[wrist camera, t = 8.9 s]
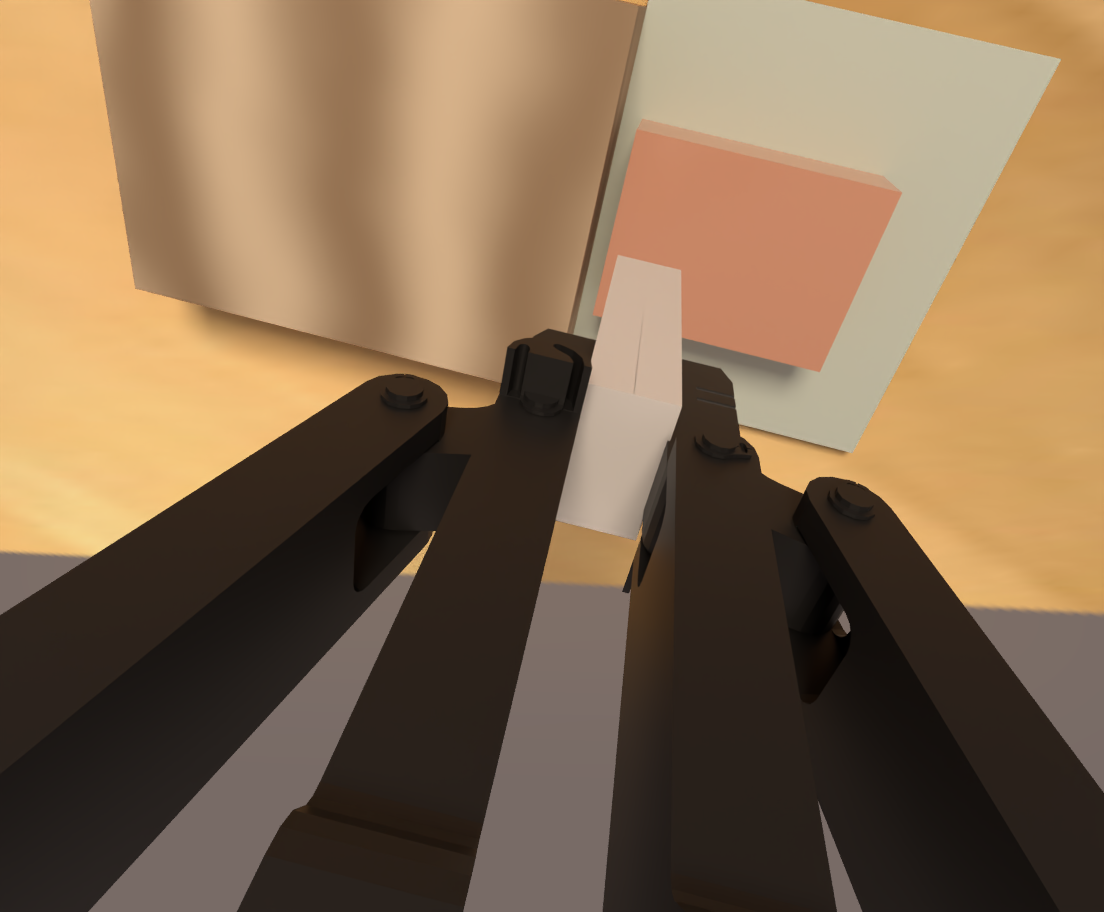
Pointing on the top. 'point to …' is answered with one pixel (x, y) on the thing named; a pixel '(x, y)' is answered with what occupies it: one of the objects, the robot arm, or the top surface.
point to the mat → (842, 139)
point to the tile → (750, 239)
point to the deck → (369, 161)
